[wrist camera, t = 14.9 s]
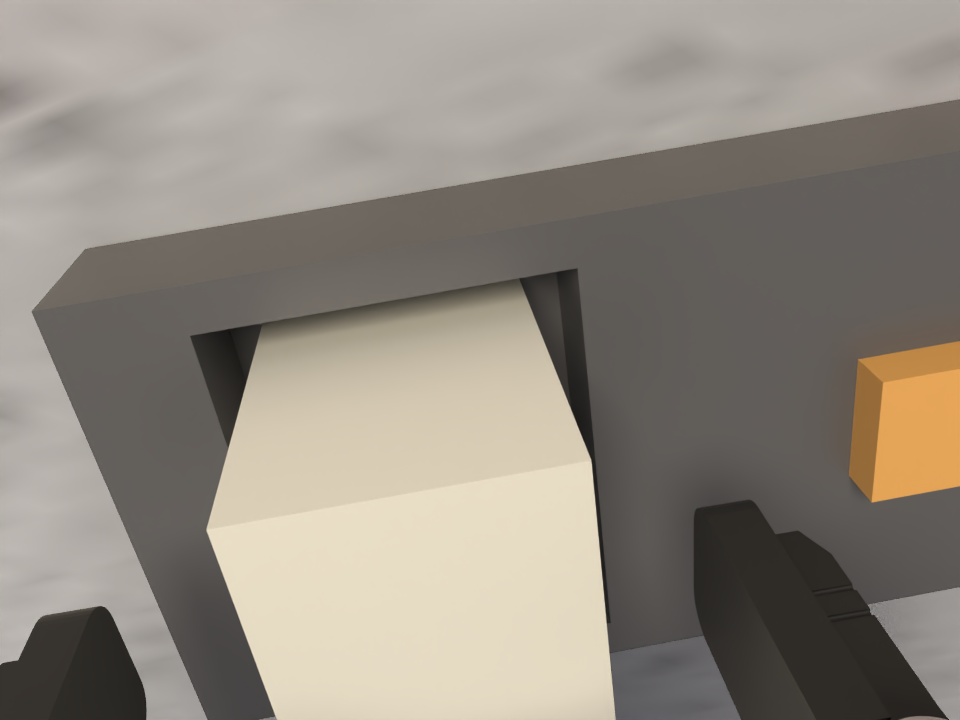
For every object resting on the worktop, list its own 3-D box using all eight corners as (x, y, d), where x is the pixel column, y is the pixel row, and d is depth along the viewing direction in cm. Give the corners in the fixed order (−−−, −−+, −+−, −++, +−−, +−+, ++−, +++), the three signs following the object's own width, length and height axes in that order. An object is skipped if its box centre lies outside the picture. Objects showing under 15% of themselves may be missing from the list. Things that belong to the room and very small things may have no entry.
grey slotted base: (85, 249, 15) (11, 335, 12) (1098, 76, 15) (1277, 116, 12) (231, 629, 19) (204, 764, 16) (1018, 483, 19) (1136, 587, 16)
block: (265, 314, 15) (205, 530, 10) (515, 270, 15) (591, 460, 10) (338, 570, 18) (324, 845, 13) (549, 531, 18) (622, 788, 13)
